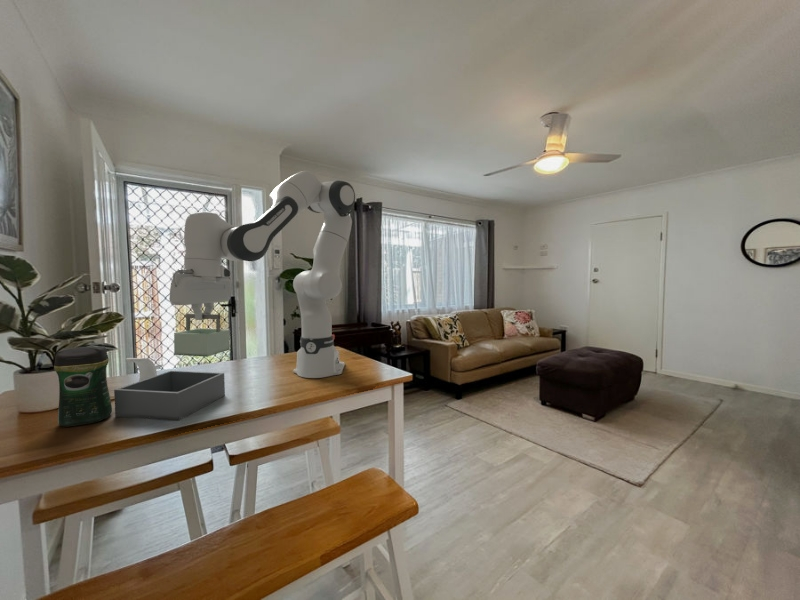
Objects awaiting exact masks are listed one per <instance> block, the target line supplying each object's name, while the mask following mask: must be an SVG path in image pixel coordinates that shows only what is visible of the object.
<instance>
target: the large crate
mask: <svg viewBox="0 0 800 600" xmlns="http://www.w3.org/2000/svg"><path fill="white" fill-rule="evenodd" d="M225 386H226V385H225V373H224V372H213V371H212V372H211V371H210V372H209V371H187V370H169V371H165V372H162V373H160V374H157V375H156V376H153V377H150V378H148V379H145V380H142V381H139V380H138V381H136V382H133V383H130V384H127V385H124V386H121V387H119V388H115V389H114V390H113V392H114V393H113V395H114V397H113V398H114V414H115V417H117V418H118V417H120V418H136V419H137V418H139V419H152V420H163V421H164V420H166V421H167V420H168V421H180V420H183V419H184V418H186V417H188V416H190V415H192V414H194V413H195V412H197V411H199V410H200V409H203V408H204V407H206V406H209V405H210V404H212V403H214V402H216V401H217V400H219V399H221V398H223V397H225V396H226V391H225V390H226V389H225V388H226V387H225Z"/></svg>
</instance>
